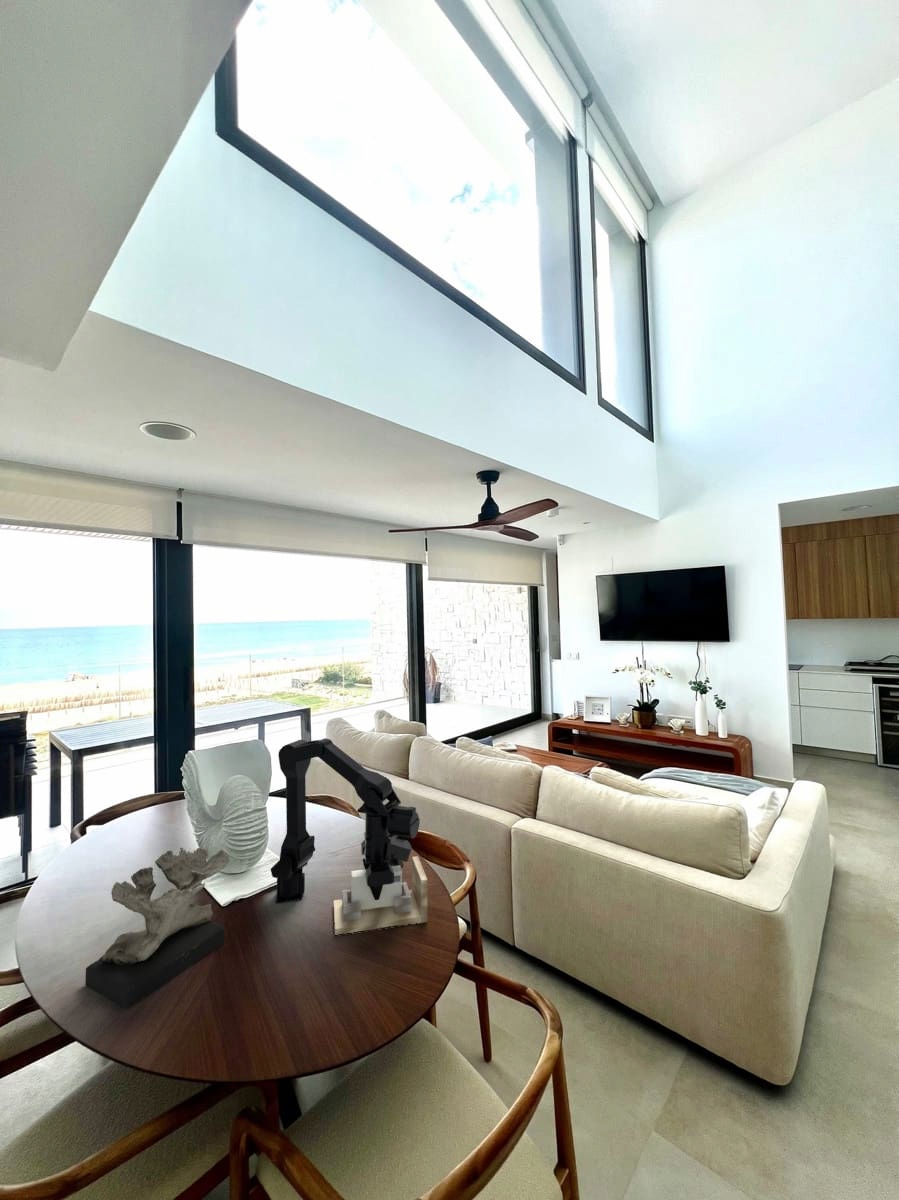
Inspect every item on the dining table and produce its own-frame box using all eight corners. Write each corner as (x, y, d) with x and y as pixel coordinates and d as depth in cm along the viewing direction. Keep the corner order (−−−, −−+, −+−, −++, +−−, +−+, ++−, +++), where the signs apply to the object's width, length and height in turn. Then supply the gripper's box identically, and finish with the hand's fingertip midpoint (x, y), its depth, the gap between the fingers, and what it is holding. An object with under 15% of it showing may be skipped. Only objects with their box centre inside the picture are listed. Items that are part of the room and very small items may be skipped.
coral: (198, 917, 121) (200, 827, 121) (257, 944, 111) (259, 846, 112) (82, 984, 99) (86, 874, 99) (144, 1024, 89) (147, 901, 90)
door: (352, 913, 119) (352, 878, 119) (351, 904, 122) (351, 871, 123) (402, 906, 122) (402, 872, 122) (399, 897, 125) (400, 865, 126)
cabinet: (335, 936, 114) (335, 891, 114) (333, 906, 125) (334, 866, 126) (427, 922, 119) (427, 879, 120) (417, 894, 131) (417, 856, 131)
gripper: (416, 844, 116) (415, 913, 115) (403, 813, 134) (402, 872, 133) (367, 849, 113) (367, 920, 113) (361, 817, 131) (360, 878, 131)
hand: (376, 895), depth 122 cm, fingers closed on door, 3 cm apart
